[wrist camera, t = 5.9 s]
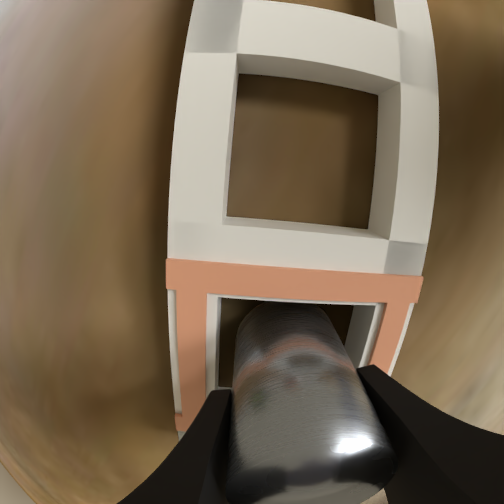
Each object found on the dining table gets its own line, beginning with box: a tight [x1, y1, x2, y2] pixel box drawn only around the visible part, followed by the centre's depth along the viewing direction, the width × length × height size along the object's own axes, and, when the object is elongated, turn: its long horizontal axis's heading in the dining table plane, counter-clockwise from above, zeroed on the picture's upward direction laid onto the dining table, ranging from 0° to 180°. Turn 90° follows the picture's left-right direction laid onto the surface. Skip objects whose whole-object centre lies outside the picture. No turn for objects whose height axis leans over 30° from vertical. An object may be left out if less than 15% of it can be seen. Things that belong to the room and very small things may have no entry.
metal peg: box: [225, 301, 398, 504], centre depth 8 cm, size 4×4×7 cm
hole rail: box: [166, 0, 439, 441], centre depth 9 cm, size 9×28×2 cm, turn 175°
